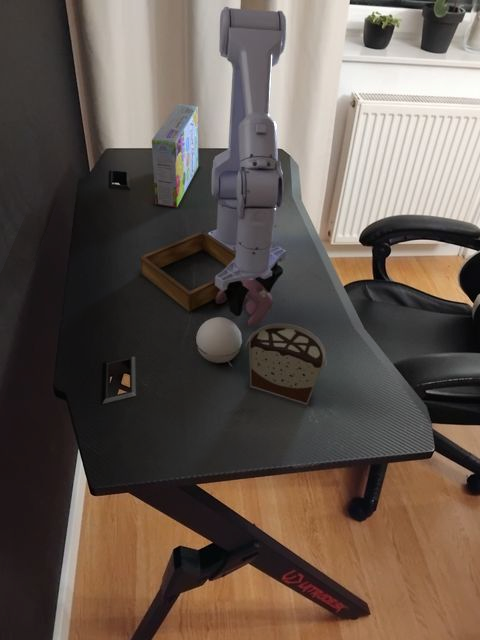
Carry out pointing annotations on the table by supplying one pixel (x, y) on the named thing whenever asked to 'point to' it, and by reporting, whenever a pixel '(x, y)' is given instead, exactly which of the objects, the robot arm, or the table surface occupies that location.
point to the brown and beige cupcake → (285, 361)
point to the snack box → (175, 155)
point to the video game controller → (259, 300)
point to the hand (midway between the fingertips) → (247, 306)
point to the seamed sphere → (218, 340)
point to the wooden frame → (178, 251)
